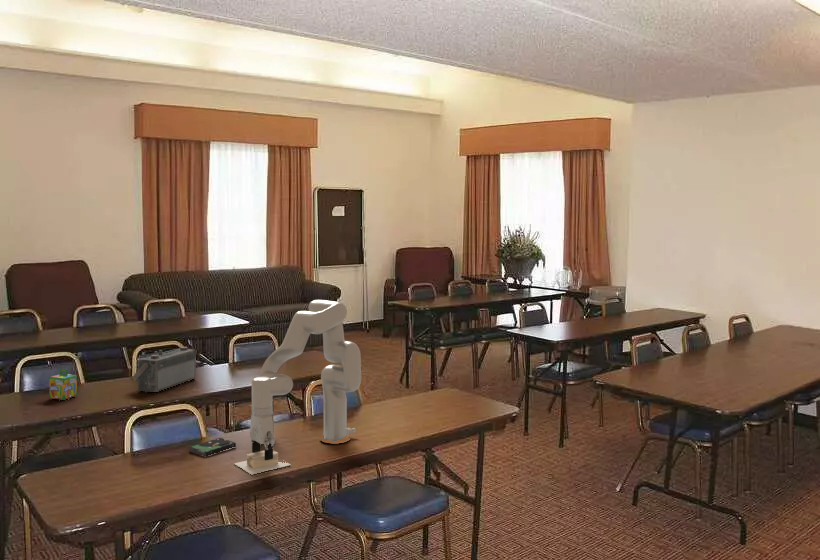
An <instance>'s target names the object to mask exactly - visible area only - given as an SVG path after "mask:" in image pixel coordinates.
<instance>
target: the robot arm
mask: <svg viewBox="0 0 820 560" xmlns="http://www.w3.org/2000/svg"><path fill="white" fill-rule="evenodd" d="M347 315H348V310H347V306H346V305H345V304H344V303H343V302H340V301H333V300H327V299H314V300H312V301H310V302H309V304H308V310H299V311H297V312H295V314H294V315H293V317H292V320H291V321H290V323H289V327H288V329H287V330H286V334H285V335H284V336H285V337H284V338H283V341H282V343H281V345H280V346H279V347H277V348H276V349H275V350H274V351H273V352H272V353H271V354H270V355H269V356H268V357H266V359H265V361H264V362H263V365H262V367H261V369H260V372H259V374H258V376H257V377H255V378H252V380H251V415H250V417H251V418H250V431H249V437H250V439H251V441H250V442H251V453H255V452H260V451H261V445H260V444H263V443H264V445H263V446H264V448H265V449H264V450H265V460H270V459H273V450H274V447H275V443H276V439H275V436H274V437H273V421H272V414H273V404H272V401H273V396H283V395H287V394H289V393H290V392H291V391H292V389H293V387H294V382H293V379H292V378H291V377H290V376H288V375H286V374H281V373H277V372H278V370H279V368H280V367H281V366H282V365H283V364H284V363H285V362H287V361H289V360H291V359H293V358H296V357H298V356H301V355H302V353H303V352H304V350H305V347H306V344H307V342H308V340H309V337H310V336H311V335H322V341H323V342H322V343H323V344H322V345H323V355H324V359H325V360H326V361H327V362H330V363H334V364H329V365H326V366H325V367H323V369H322V371H321V373H320V381H321V385H322V391H323V392H322V393H323V395H322V396H323V435H324V439H326V440H331V441H337V440H342V439H344V438H346V436H350V435H351V434H355V433H357V428H355V427H353V428H351V427H347V426H348V425H347V422H348V421H347V415H348V413H347V410H348V409H347V404H348V402H347V401H348V400H347V395H346V394H347V393H346V392H356V391H357V390H358V389H359V387H361V382H362V358H361V357H362V355H361V350H360V348H359V346H358V344H356V343H355V342H353V341H349V340H345V334H344V325H343V323H342V322H344V321H345V319H346V317H347ZM340 364H341V365H340ZM266 440H267V441H266ZM267 443H269V445H267Z"/></svg>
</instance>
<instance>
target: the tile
mask: <svg viewBox="0 0 820 560" xmlns="http://www.w3.org/2000/svg"><path fill="white" fill-rule="evenodd" d="M278 458H279V452H277V451H276V450H274V449H273V459H270V460H265V449H264V450H260V452H255V453H252V452H250V453H246V461H247V465H248V466H250V467H251V468H253V469H256V468H260V467H264V466H269V465H273V464H277V463H278Z"/></svg>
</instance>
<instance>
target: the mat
mask: <svg viewBox="0 0 820 560" xmlns="http://www.w3.org/2000/svg"><path fill="white" fill-rule="evenodd" d="M286 462H287V461H285V463H284V462H283V463H282V462H278V464H273V465H269V466H264V467H260V468H256V469H253V468H251V467H250V466H248V465H247V460H244V461H238V462H234V464H235V465H237V466H238V467H240V468H242V469H243V470H245V471H246V472H248V473H249V474H248V473H247V474H248V475H250V474H251V475H253V474H257V473H261V472H264V471H268V470H273V469H277V468H281V467H285V466H289V465H291V463H289V462H287V463H286ZM234 464H233V465H234ZM235 465H234V466H235ZM237 466H236V467H237ZM291 466H292V465H291ZM238 467H237V468H238ZM240 468H239V469H240ZM242 469H241V470H242ZM243 470H242V471H243ZM245 471H244V472H245ZM273 471H274V470H273ZM246 472H245V473H246ZM261 474H262V473H261ZM251 475H250V476H251ZM257 475H258V474H257ZM253 476H254V475H253Z"/></svg>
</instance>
